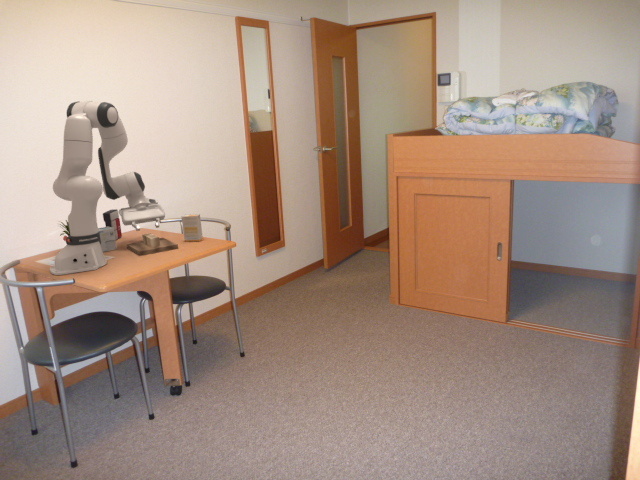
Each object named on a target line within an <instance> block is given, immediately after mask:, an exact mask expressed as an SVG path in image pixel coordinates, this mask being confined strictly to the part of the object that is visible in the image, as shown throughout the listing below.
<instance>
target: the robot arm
mask: <svg viewBox="0 0 640 480" xmlns="http://www.w3.org/2000/svg"><path fill="white" fill-rule="evenodd" d="M93 129H98V134H99V135H100V138H101V139H100V140H101V145H100V146H99V147H98V149H97V156H98V157H97V158H98V163H99V168H100V175H101V180H102V183H101V182H100V180H98V179H97V178H95V177H92V176H90V175H86V174H87V171H88V169H89V166H90V165H91V164H92V162H93V147H94V145H93V143H94V142H93V141H94V139H93V137H94V136H93ZM128 140H129V139H128V134H127V131H126V129H125V125H124V123H123V122H122V119H121V117H120V115H119V112H118V110H117V108H116V107H115V105H114V104H112V103H111V102H106V101H103V102H101V101H100V102H99V101H93V100H86V101H84V100H83V101H74V102H70V104H69V105H68V106H67V109H66V120H65V124H64V130H63V146H62V147H63V149H62V150H63V151H62V152H63V153H62V162H61V166H60V170H59V173H58V175H57V178H56V179H55V180H54V181H53V183H52V190H53V194H55V196H57V197H58V198H60V199H62V200H64V201H68V202H69V201H70V202H71V207H70V213H69V214H68V216H67V221H68V223H69V230H70V235H69V236H68V235H66V236H65V235H63V237H62V239H63V241H64V242H65V243H66V245H65V246H64V247H63V248H61V250H60V251H59V252H57V253H56V254H55V257H54V265H53V266H51V267H50V268H49V272H50V274H52V275H55V276H62V275H68V274H75V273H81V272H88V271H95V270H97V269H100V268H101V267H103V266H106V264H108V262H107V259H106V257H105V255H104V252H103V251H102V248H101V237H100V233H99V232H98V222H97V221H98V219H97V207H98V202H99V199H100V198H101V197H102V194H104V195H105V197H106V198H107V199H109V200H111V201H112V200H113V201H115V200H117V199H119V198H122V197H124V196H125V198H126V200H127V205H128V207H122V208H120V209H118V214H119V217H121V222H122V224H123V225H124V226H126V227H127V226H132V228H134V229H135V230H136V232H139V231H141V227H140V225H138V224H145V223H151V222H155V224H154V227H155V229H156V228H157V229H158V228H160V221H164V219H165V218H166V212H165V210H164V209H163V206H162V205H161V204H159V201H158V199H156V198H155V199H154V198H148V197H146V196H145V195H144V193H145V188H146V186H145V183H144V181H143V178H142V176H141V173H138V172H136V171H130V172H126V173H124V174H121V175H118V176H115V177H112V175H111V168H110V163H111V161H112V160H113V158H115V157H116V156H118V155H119V154H120V153H122V152H123V151H124V150H125V149H126V147H127V145H128V143H129V142H128Z"/></svg>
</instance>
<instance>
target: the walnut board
mask: <svg viewBox="0 0 640 480" xmlns="http://www.w3.org/2000/svg"><path fill="white" fill-rule="evenodd" d="M159 240H160V246H155V247H151V246H149V245H147V244H145V243H143V240H141V241H137V242H131V243H127V244H126V248H127V249H128V250H130V251H131V252H133V253H135V254H137V255H138V256H140V257H141V256H146V255H150V254H151V255H152V254H156V253H161V252H168V251H172V250H178V249H179V245H178V243H176V242H173V241H171V240H169V239H166V238H164V237H159Z"/></svg>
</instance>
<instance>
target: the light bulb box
mask: <svg viewBox="0 0 640 480" xmlns="http://www.w3.org/2000/svg"><path fill="white" fill-rule="evenodd" d="M98 232H99V233H100V237H101V248H102V251H103V253H106V252H110V251H114V250H117V249H118V248H117V242H116V240H115V234H114V228H113V227H109V226H107V227H106V226H103V227H99V228H98Z"/></svg>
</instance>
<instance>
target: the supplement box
mask: <svg viewBox="0 0 640 480" xmlns="http://www.w3.org/2000/svg"><path fill="white" fill-rule="evenodd" d="M181 222H182V223H181V224H182V231H183V238H184V242H185V243H186V242H190V243H191V242H201V241H203V240H204V238H203V237H204V236H203V231H202V230H203V229H202V221H201V214H200V213H192V214H191V213H190V214H183V215H182V216H181Z"/></svg>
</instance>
